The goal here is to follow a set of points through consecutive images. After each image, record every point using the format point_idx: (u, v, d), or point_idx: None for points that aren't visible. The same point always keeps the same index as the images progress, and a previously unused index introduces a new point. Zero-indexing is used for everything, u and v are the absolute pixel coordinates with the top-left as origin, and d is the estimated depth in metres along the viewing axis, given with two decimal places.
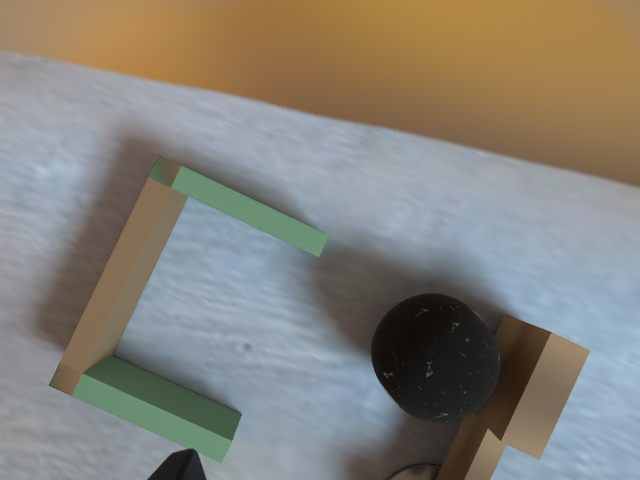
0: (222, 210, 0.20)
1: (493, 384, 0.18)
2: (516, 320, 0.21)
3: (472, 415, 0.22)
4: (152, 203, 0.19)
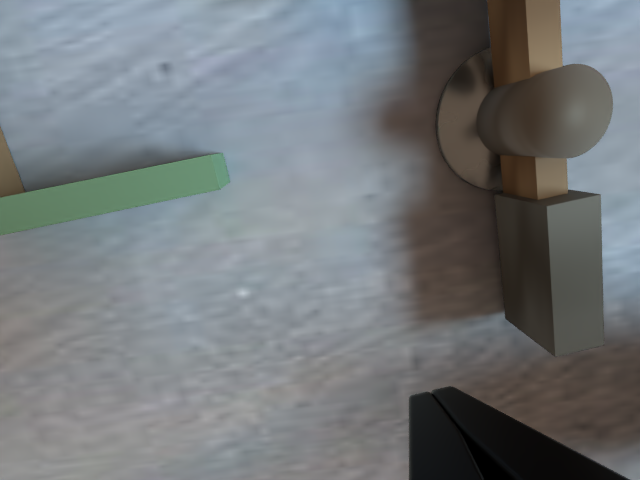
0: None
1: None
2: None
3: None
4: None
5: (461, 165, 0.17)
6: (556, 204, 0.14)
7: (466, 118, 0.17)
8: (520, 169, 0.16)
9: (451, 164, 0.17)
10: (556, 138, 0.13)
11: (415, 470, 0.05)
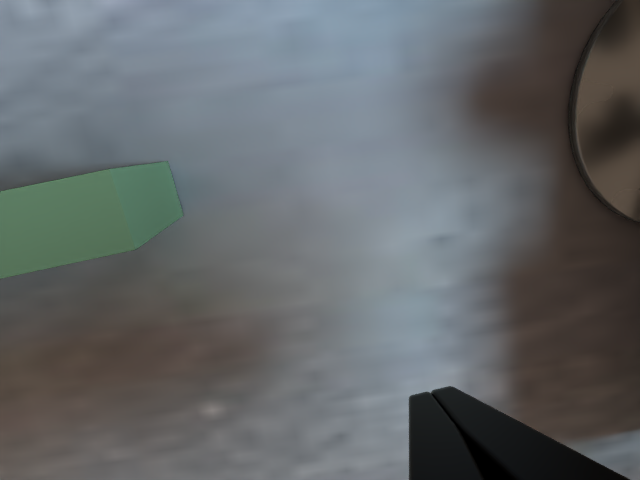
0: None
1: None
2: None
3: None
4: None
5: (613, 183, 0.09)
6: None
7: (630, 95, 0.09)
8: None
9: (595, 181, 0.09)
10: None
11: (415, 470, 0.05)
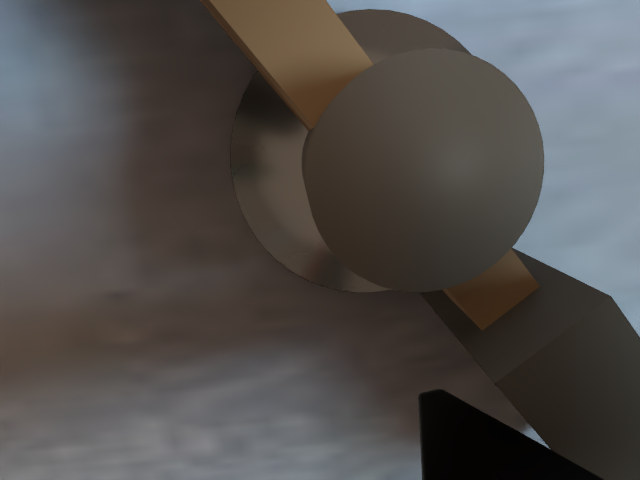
0: None
1: None
2: None
3: None
4: None
5: (284, 246, 0.09)
6: (515, 367, 0.06)
7: (287, 158, 0.08)
8: None
9: (264, 244, 0.09)
10: (428, 250, 0.05)
11: (428, 467, 0.05)
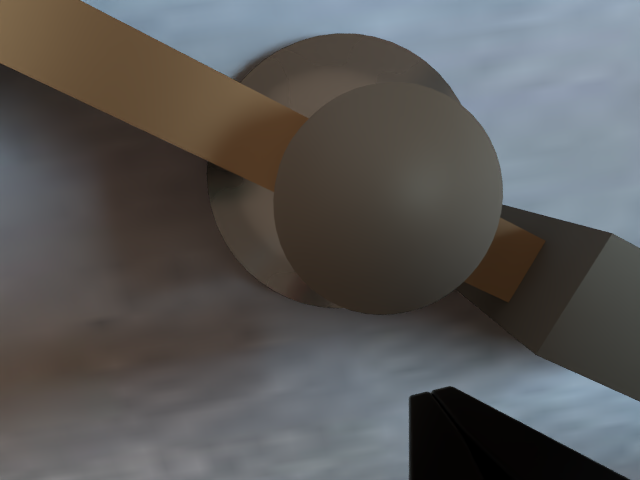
0: None
1: None
2: None
3: None
4: None
5: (265, 266, 0.09)
6: (549, 333, 0.06)
7: None
8: None
9: (245, 265, 0.09)
10: (420, 265, 0.05)
11: (415, 470, 0.05)
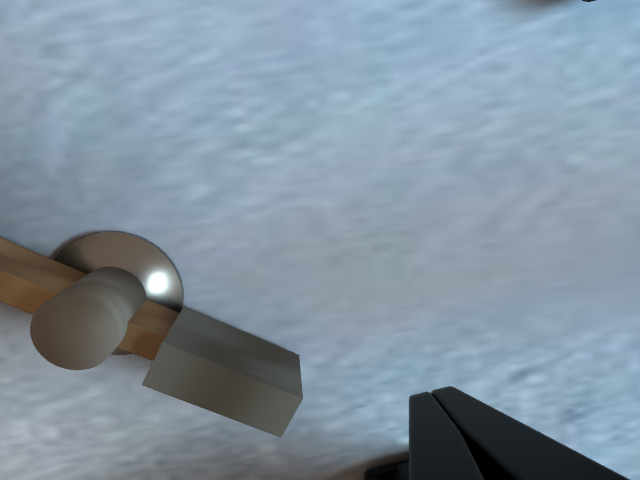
0: None
1: None
2: None
3: None
4: None
5: None
6: (146, 377, 0.15)
7: None
8: None
9: None
10: (88, 352, 0.15)
11: (415, 470, 0.05)
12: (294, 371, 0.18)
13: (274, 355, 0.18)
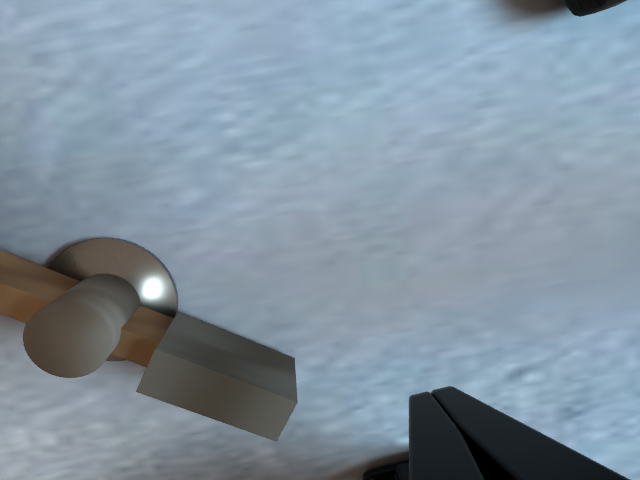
0: None
1: None
2: None
3: None
4: None
5: None
6: None
7: None
8: None
9: None
10: (82, 360, 0.15)
11: (415, 470, 0.05)
12: (289, 374, 0.18)
13: (269, 359, 0.18)
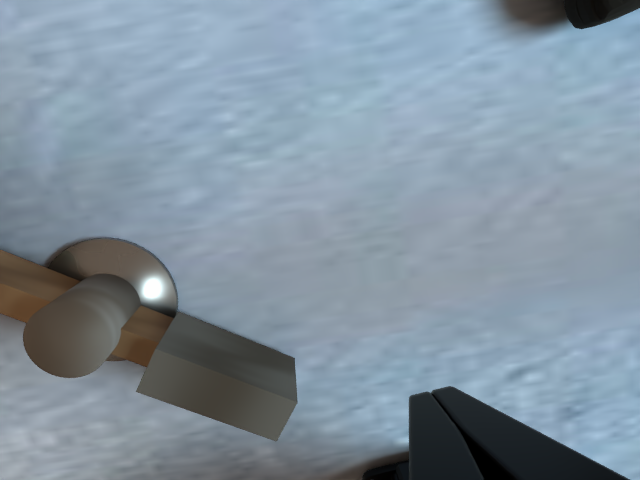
0: None
1: None
2: None
3: None
4: None
5: None
6: None
7: None
8: None
9: None
10: (82, 360, 0.15)
11: (415, 470, 0.05)
12: (289, 374, 0.18)
13: (269, 359, 0.18)
